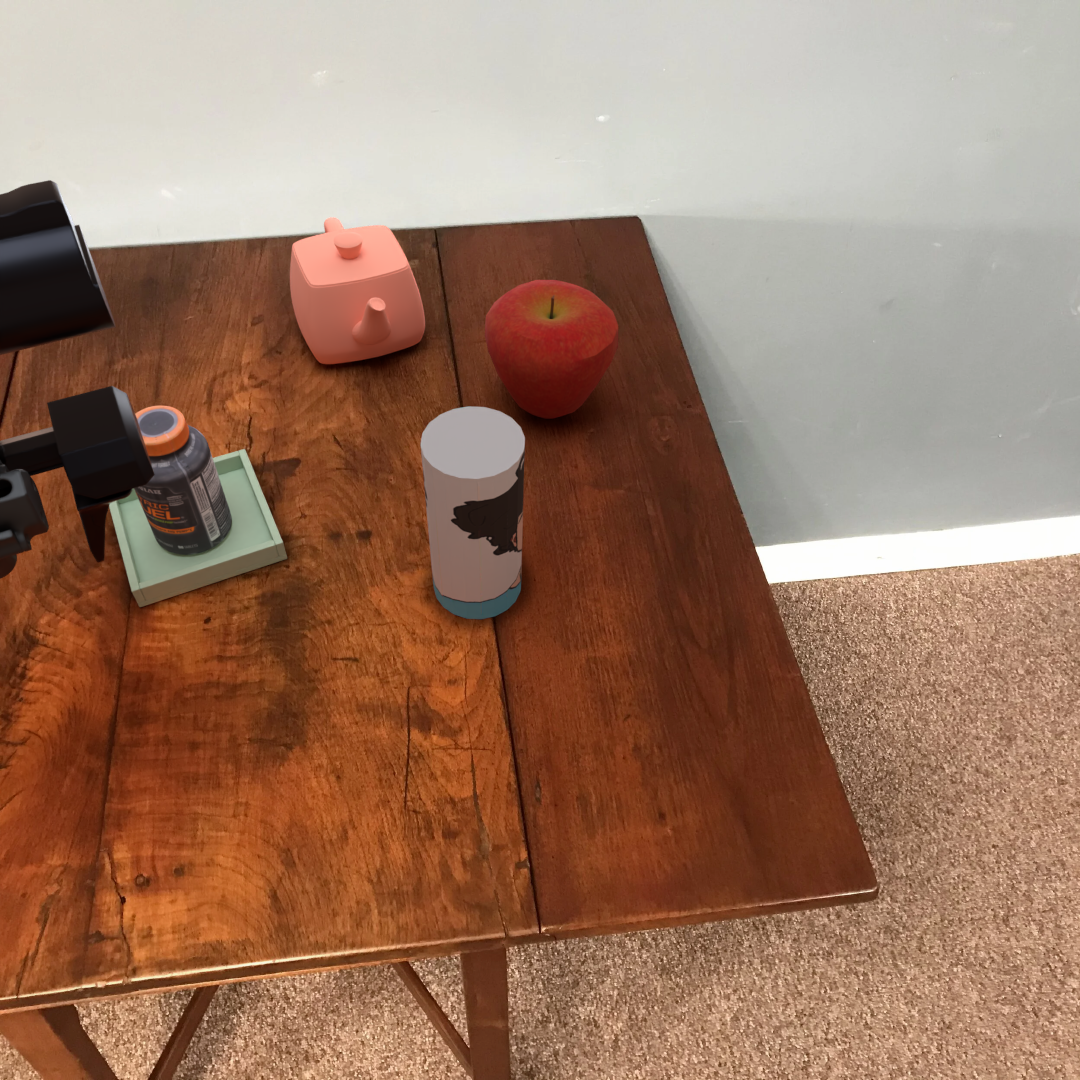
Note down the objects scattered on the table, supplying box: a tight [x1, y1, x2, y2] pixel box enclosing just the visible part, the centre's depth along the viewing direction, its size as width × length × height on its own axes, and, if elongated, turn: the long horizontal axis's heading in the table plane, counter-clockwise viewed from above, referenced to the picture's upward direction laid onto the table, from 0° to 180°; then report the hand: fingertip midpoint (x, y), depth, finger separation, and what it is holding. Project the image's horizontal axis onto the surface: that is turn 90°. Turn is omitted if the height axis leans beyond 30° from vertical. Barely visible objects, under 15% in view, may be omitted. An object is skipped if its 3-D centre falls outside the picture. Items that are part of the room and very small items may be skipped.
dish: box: [108, 448, 288, 608], centre depth 74 cm, size 11×11×2 cm
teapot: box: [289, 216, 426, 365], centre depth 87 cm, size 12×18×10 cm, turn 22°
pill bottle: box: [134, 405, 232, 555], centre depth 70 cm, size 6×6×11 cm
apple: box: [484, 279, 620, 420], centre depth 81 cm, size 11×11×12 cm
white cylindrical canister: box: [420, 405, 526, 620], centre depth 66 cm, size 7×7×15 cm
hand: (17, 582), depth 55 cm, fingers open, 9 cm apart
